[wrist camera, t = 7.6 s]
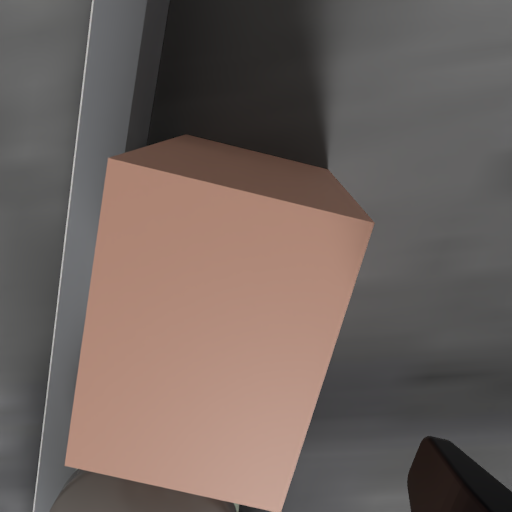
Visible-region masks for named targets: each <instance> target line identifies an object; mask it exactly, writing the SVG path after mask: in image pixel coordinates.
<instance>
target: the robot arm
mask: <svg viewBox="0 0 512 512" xmlns="http://www.w3.org/2000/svg"><path fill="white" fill-rule="evenodd" d="M407 486H408V493H409V500H410V507H411V512H512V492H511V491H510V490H509V489H508V488H506V487H505V486H504V485H503V484H501V483H500V482H499V481H498V480H497V479H495V478H494V477H493V476H492V475H491V474H489V473H488V472H487V471H486V470H484V469H483V468H482V467H481V466H480V465H478V464H477V463H476V462H475V461H474V460H472V459H471V458H470V457H469V456H467V455H466V454H465V453H464V452H463V451H461V450H460V449H459V448H458V447H457V446H455V445H454V444H453V443H452V442H450V441H448V440H445V439H441V438H436V437H431V436H427V437H425V438H424V439H423V440H422V442H421V443H420V446H419V448H418V451H417V453H416V456H415V458H414V461H413V463H412V466H411V468H410V471H409V474H408V480H407Z"/></svg>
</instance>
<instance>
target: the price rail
mask: <svg viewBox="0 0 512 512" xmlns="http://www.w3.org/2000/svg"><path fill="white" fill-rule="evenodd" d="M169 3H170V0H92V7H91V15H90V24H89V33H88V41H87V50H86V58H85V67H84V76H83V84H82V93H81V102H80V110H79V119H78V127H77V136H76V145H75V153H74V162H73V170H72V179H71V188H70V196H69V205H68V214H67V222H66V231H65V239H64V248H63V257H62V265H61V274H60V282H59V291H58V300H57V308H56V317H55V326H54V334H53V343H52V351H51V360H50V369H49V377H48V386H47V394H46V403H45V412H44V420H43V429H42V438H41V446H40V455H39V463H38V472H37V481H36V489H35V498H34V506H33V512H49V511H50V509H51V507H52V506H53V504H54V502H55V500H56V498H57V497H58V495H59V493H60V491H61V490H62V488H63V486H64V485H65V483H66V481H67V480H68V479H69V478H70V476H71V475H72V474H73V473H74V472H75V471H76V469H77V468H72V467H68V466H65V459H66V452H67V445H68V438H69V430H70V423H71V416H72V409H73V402H74V395H75V388H76V381H77V374H78V367H79V360H80V353H81V346H82V339H83V332H84V325H85V318H86V310H87V303H88V296H89V289H90V282H91V275H92V268H93V261H94V254H95V247H96V240H97V233H98V226H99V219H100V212H101V205H102V197H103V190H104V183H105V176H106V169H107V162H108V158H109V157H113V156H116V155H119V154H123V153H126V152H129V151H133V150H136V149H139V148H142V147H146V146H147V140H148V133H149V127H150V121H151V115H152V108H153V102H154V96H155V90H156V84H157V77H158V71H159V65H160V59H161V52H162V46H163V40H164V34H165V28H166V21H167V15H168V9H169Z"/></svg>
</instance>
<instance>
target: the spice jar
mask: <svg viewBox="0 0 512 512" xmlns="http://www.w3.org/2000/svg"><path fill="white" fill-rule="evenodd" d="M238 511H239V504H236V503H231V502H227V501H222V500H218V499H213V498H209V497H204V496H200V495H195V494H190V493H186V492H181V491H177V490H172V489H168V488H163V487H159V486H154V485H150V484H145V483H141V482H136V481H131V480H127V479H122V478H118V477H113V476H109V475H104V474H100V473H95V472H91V471H86V470H81V469H76V471H75V472H74V473H73V474H72V475H71V476H70V478H69V479H68V480H67V481H66V483H65V485H64V486H63V488H62V490H61V491H60V493H59V495H58V497H57V498H56V500H55V502H54V504H53V506H52V507H51V509H50V511H49V512H238Z"/></svg>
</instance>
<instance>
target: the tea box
mask: <svg viewBox="0 0 512 512" xmlns="http://www.w3.org/2000/svg"><path fill="white" fill-rule="evenodd" d="M373 226H374V222H373V221H372V219H371V218H370V217H369V216H368V215H367V214H366V212H365V211H364V210H363V209H362V208H361V207H360V206H359V204H358V203H357V202H356V201H355V200H354V199H353V198H352V196H351V195H350V194H349V193H348V192H347V191H346V189H345V188H344V187H343V186H342V185H341V184H340V183H339V181H338V180H337V179H336V178H335V177H334V176H333V175H332V173H331V172H330V171H329V170H328V169H324V168H320V167H316V166H312V165H308V164H304V163H300V162H296V161H292V160H288V159H284V158H280V157H276V156H272V155H268V154H264V153H260V152H256V151H252V150H248V149H243V148H239V147H235V146H231V145H227V144H223V143H219V142H215V141H211V140H207V139H203V138H199V137H195V136H191V135H187V134H185V135H182V136H179V137H175V138H172V139H169V140H166V141H162V142H159V143H156V144H152V145H149V146H146V147H142V148H139V149H136V150H133V151H129V152H126V153H123V154H119V155H116V156H113V157H109V158H108V162H107V169H106V176H105V183H104V190H103V197H102V205H101V212H100V219H99V226H98V233H97V240H96V247H95V254H94V261H93V268H92V275H91V282H90V289H89V296H88V303H87V310H86V318H85V325H84V332H83V339H82V346H81V353H80V360H79V367H78V374H77V381H76V388H75V395H74V402H73V409H72V416H71V423H70V430H69V438H68V445H67V452H66V459H65V466H68V467H72V468H77V469H81V470H86V471H91V472H95V473H100V474H104V475H109V476H113V477H118V478H122V479H127V480H131V481H136V482H141V483H145V484H150V485H154V486H159V487H163V488H168V489H172V490H177V491H181V492H186V493H190V494H195V495H200V496H204V497H209V498H213V499H218V500H222V501H227V502H231V503H236V504H240V505H245V506H250V507H254V508H259V509H263V510H268V511H272V512H281V510H282V507H283V504H284V501H285V498H286V495H287V492H288V489H289V486H290V483H291V480H292V476H293V473H294V470H295V467H296V464H297V461H298V458H299V455H300V452H301V449H302V446H303V442H304V439H305V436H306V433H307V430H308V427H309V424H310V421H311V418H312V415H313V412H314V408H315V405H316V402H317V399H318V396H319V393H320V390H321V387H322V384H323V381H324V378H325V374H326V371H327V368H328V365H329V362H330V359H331V356H332V353H333V350H334V347H335V344H336V340H337V337H338V334H339V331H340V328H341V325H342V322H343V319H344V316H345V313H346V310H347V306H348V303H349V300H350V297H351V294H352V291H353V288H354V285H355V282H356V279H357V276H358V272H359V269H360V266H361V263H362V260H363V257H364V254H365V251H366V248H367V245H368V242H369V238H370V235H371V232H372V229H373Z"/></svg>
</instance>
